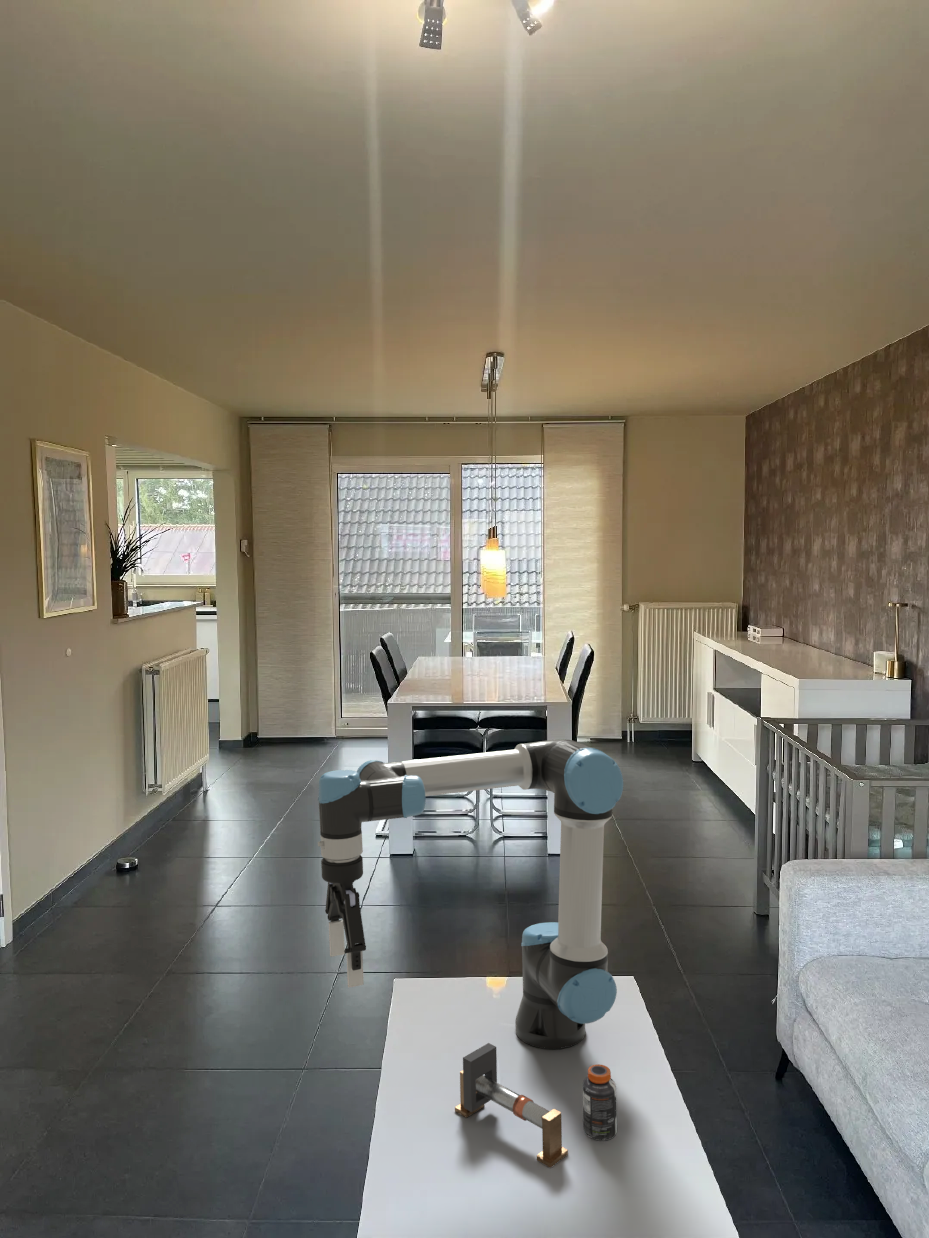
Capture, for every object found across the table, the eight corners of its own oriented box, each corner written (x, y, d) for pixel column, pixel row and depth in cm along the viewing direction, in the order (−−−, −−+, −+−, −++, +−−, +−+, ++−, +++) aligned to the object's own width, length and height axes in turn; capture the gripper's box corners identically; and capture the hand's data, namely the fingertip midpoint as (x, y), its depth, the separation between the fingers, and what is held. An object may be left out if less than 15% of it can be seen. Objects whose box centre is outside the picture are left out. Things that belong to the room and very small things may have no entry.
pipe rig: (454, 1110, 163) (454, 1070, 163) (472, 1099, 167) (472, 1060, 166) (550, 1167, 147) (549, 1123, 147) (568, 1154, 151) (567, 1110, 150)
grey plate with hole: (463, 1107, 160) (462, 1057, 160) (489, 1091, 165) (488, 1042, 164) (471, 1112, 159) (470, 1061, 158) (497, 1095, 164) (496, 1046, 163)
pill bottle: (621, 1126, 158) (621, 1065, 157) (609, 1145, 153) (609, 1082, 152) (590, 1116, 161) (590, 1056, 160) (578, 1135, 156) (577, 1073, 155)
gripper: (307, 840, 171) (311, 946, 172) (338, 881, 148) (342, 1003, 149) (345, 834, 174) (349, 939, 175) (381, 874, 151) (385, 994, 152)
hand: (346, 969), depth 162 cm, fingers open, 13 cm apart
